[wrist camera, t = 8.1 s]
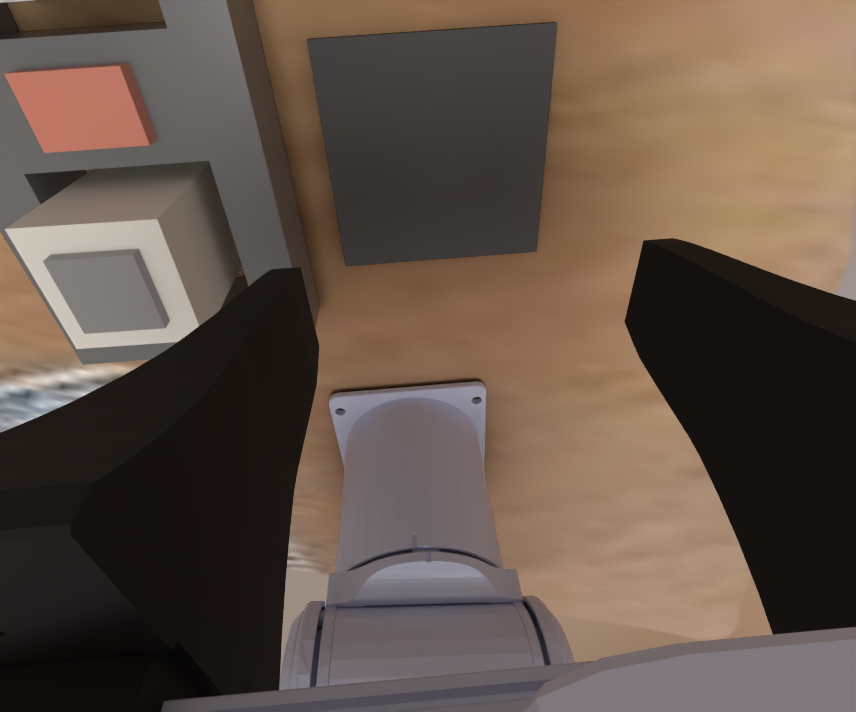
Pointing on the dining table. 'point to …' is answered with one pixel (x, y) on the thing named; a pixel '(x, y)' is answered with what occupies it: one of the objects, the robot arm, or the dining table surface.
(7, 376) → the dining table surface
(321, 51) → the mat
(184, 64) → the strip
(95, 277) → the plug
